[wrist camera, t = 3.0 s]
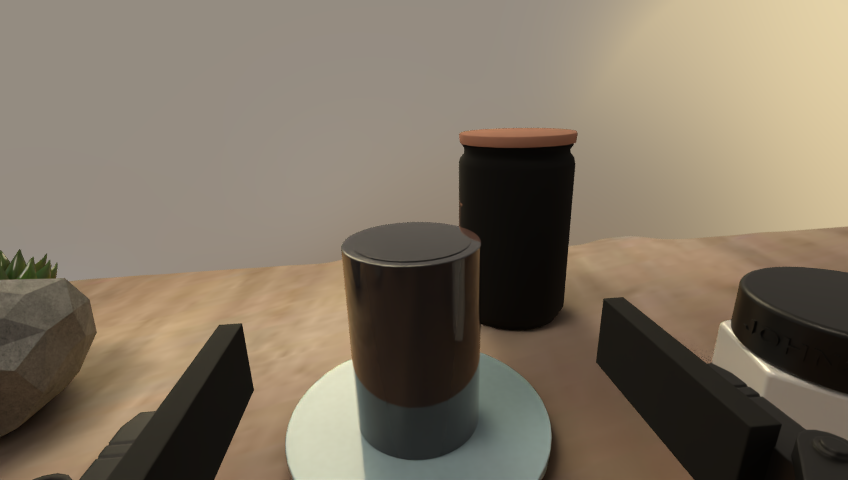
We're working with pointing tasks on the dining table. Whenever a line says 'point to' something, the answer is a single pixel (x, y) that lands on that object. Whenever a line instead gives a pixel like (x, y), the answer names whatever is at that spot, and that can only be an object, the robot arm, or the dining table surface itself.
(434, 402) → the dark glossy canister
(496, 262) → the coffee jar
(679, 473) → the dining table surface
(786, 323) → the jar
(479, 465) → the saucer
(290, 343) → the dining table surface
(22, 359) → the potted plant
